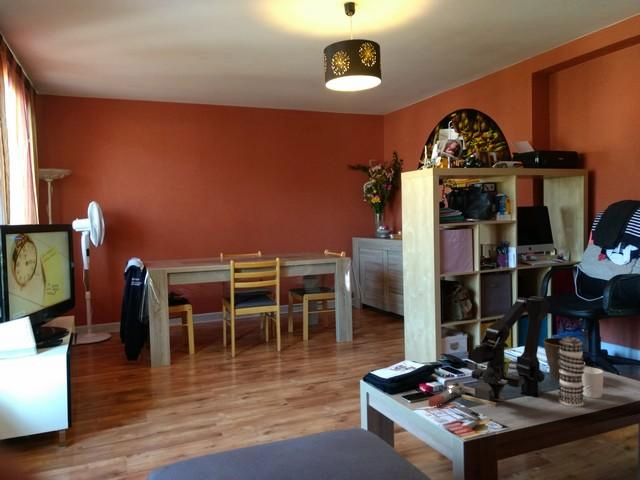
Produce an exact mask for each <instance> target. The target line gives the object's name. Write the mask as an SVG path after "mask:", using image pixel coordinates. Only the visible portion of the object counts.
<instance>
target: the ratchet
mask: <svg viewBox="0 0 640 480" xmlns="http://www.w3.org/2000/svg"><path fill="white" fill-rule="evenodd" d="M465 393H467V394H469V393H472V394H471V395H474V394H475V388H473V387H469V386H465V384H464V383H463V382H457V381H452V382H451V381H450V382H448V383H447V384H446V390H445V391H443V392H442V393H439V394H435V395H433V396H432V397H429V398H428V406H429V407H433V406H438V405H440V404H442V405H443V404H445V403H446V402H447V401H449V400H451V399H453V398H454V397H461V395H466V394H465ZM440 406H441V405H440ZM438 407H439V406H438Z"/></svg>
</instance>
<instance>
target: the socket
mask: <svg viewBox="0 0 640 480" xmlns="http://www.w3.org/2000/svg"><path fill="white" fill-rule="evenodd" d="M474 389H475V395H474V397H475V398H479V399H483V400H487V401H491V402H494V401H496V400H495V396H494V393H493V391H492V388H491V386H490V385H485V384H479V385H476V386H475V387H474Z"/></svg>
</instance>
